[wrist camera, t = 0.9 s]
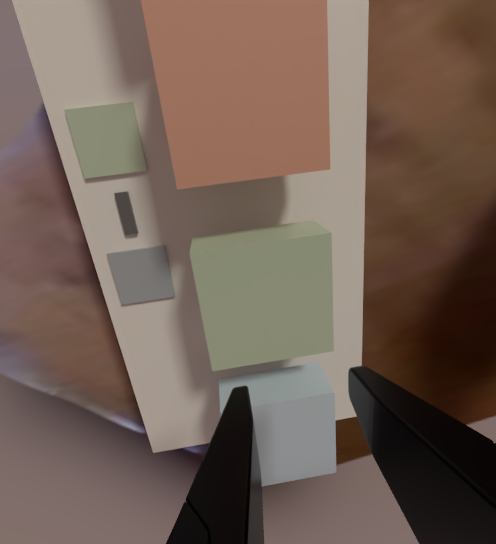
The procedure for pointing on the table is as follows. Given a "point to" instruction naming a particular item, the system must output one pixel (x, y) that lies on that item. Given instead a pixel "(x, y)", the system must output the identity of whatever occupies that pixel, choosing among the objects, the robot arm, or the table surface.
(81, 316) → the table surface
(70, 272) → the table surface
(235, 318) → the key sage
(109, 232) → the keypad base
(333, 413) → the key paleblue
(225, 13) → the key terracotta
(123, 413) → the table surface
